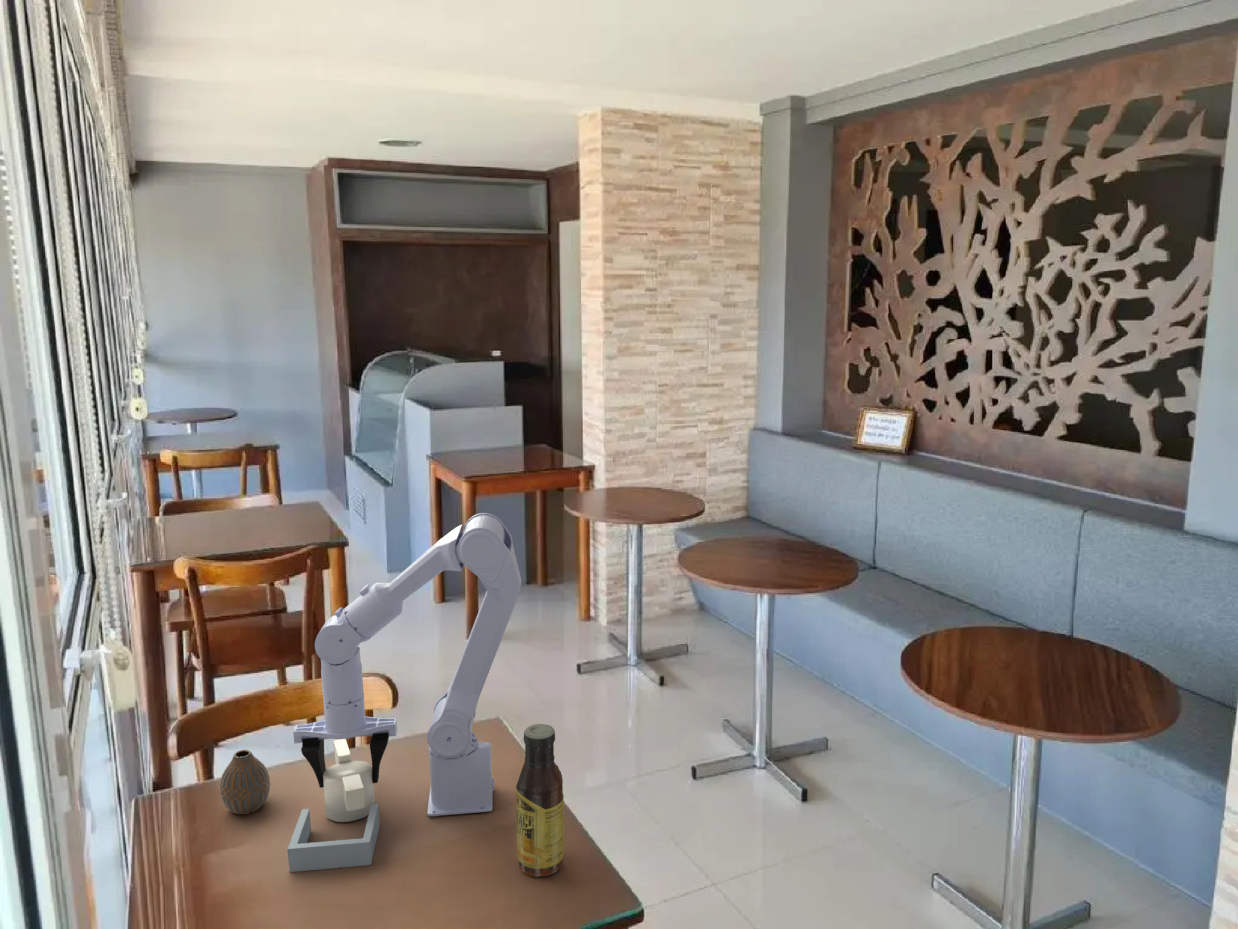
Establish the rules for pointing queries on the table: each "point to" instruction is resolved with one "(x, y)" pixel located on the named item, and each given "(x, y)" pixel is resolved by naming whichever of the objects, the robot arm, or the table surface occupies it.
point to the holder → (331, 846)
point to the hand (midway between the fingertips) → (349, 782)
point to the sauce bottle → (540, 805)
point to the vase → (244, 783)
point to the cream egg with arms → (347, 786)
